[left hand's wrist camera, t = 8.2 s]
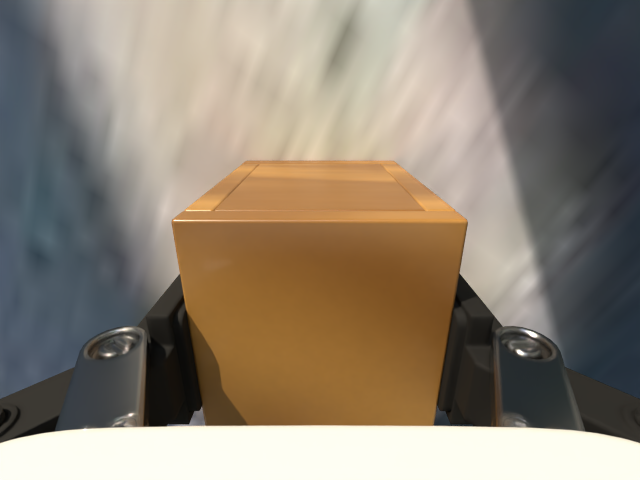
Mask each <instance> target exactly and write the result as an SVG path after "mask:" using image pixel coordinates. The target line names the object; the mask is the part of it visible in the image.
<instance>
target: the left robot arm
mask: <svg viewBox="0 0 640 480" xmlns="http://www.w3.org/2000/svg"><path fill="white" fill-rule="evenodd" d="M437 405H438V407H439V409H440V411H446V414H447V416H448V419H449V421H450V423H451V424H473V427H467V426H338V425H302V426H173V427H167V424H189V423H190V420H191V418H192V415H193V413H194V411H199V410H200V409H201V407H202V402H201V396H200V390H199V384H198V378H197V372H196V366H195V360H194V354H193V348H192V342H191V336H190V330H189V324H188V318H187V312H186V306H185V300H184V294H183V288H182V282H181V276H180V274H179V276H178V277H177V278H176V279H175V280H174V282H173V283H172V284H171V285H170V287H169V288H168V289H167V290H166V292H165V293H164V294H163V295H162V296H161V298H160V299H159V300H158V301H157V303H156V304H155V305H154V306H153V307H152V309H151V310H150V311H149V312H148V314H147V315H146V316H145V317H144V319H143V320H142V321H141V322H140V324H139V325H138V326H137V327H136V326H124V327H117V328H113V329H110V330H107V331H104V332H102V333H100V334H98V335H96V336H95V337H93V338H91V339H90V340H89V341H88V342H87V343H85V344H84V345H83V347H82V349H81V350H80V353H79V356H78V359H77V362H76V365H75V367H74V368H72V369H69V370H67V371H65V372H62V373H60V374H58V375H55V376H53V377H51V378H48V379H46V380H44V381H41V382H39V383H37V384H34V385H32V386H30V387H27V388H25V389H23V390H20V391H18V392H16V393H13V394H11V395H9V396H6V397H4V398H2V399H0V480H640V399H638V398H636V397H633V396H631V395H629V394H627V393H624V392H622V391H620V390H617V389H615V388H613V387H610V386H608V385H606V384H603V383H601V382H599V381H596V380H594V379H592V378H589V377H587V376H585V375H582V374H580V373H578V372H575V371H573V370H571V369H568V368H566V367H565V365H564V362H563V359H562V356H561V353H560V350H559V349H558V347H557V345H556V344H555V343H553V342H552V341H551V340H550V339H549V338H547V337H545V336H544V335H542V334H540V333H538V332H536V331H533V330H530V329H527V328H523V327H516V326H504V327H503V326H502V325H501V324H500V323H499V321H498V320H497V319H496V318H495V316H494V315H493V314H492V313H491V311H490V310H489V309H488V308H487V307H486V305H485V304H484V303H483V302H482V300H481V299H480V298H479V297H478V296H477V294H476V293H475V292H474V291H473V289H472V288H471V287H470V286H469V285H468V283H467V282H466V281H465V280H464V278H463V277H462V276H461V275H460V273H459V278H458V284H457V290H456V296H455V302H454V308H453V314H452V320H451V326H450V332H449V338H448V344H447V350H446V356H445V362H444V368H443V374H442V380H441V386H440V392H439V398H438V404H437Z"/></svg>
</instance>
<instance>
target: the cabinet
mask: <svg viewBox="0 0 640 480" xmlns="http://www.w3.org/2000/svg"><path fill="white" fill-rule="evenodd" d="M467 224H468V222H467V219H465V218H464V217H463V216H462V215H460V214H459V213H458V212H456V211H455V210H454V209H453V208H452V207H451V206H449V205H448V204H447V203H446V202H444V201H443V200H442V199H441V198H439V197H438V196H437V195H436V194H434V193H433V192H432V191H431V190H429V189H428V188H427V187H426V186H424V185H423V184H422V183H421V182H419V181H418V180H417V179H416V178H414V177H413V176H412V175H411V174H409V173H408V172H407V171H406V170H404V169H403V168H402V167H401V166H399V165H398V164H397V163H396V162H395V161H245V162H244V163H243V164H242V165H241V166H239V167H238V168H237V169H236V170H234V171H233V172H232V173H231V174H229V175H228V176H227V177H226V178H224V179H223V180H222V181H221V182H219V183H218V184H217V185H215V186H214V187H213V188H212V189H210V190H209V191H208V192H207V193H205V194H204V195H203V196H202V197H200V198H199V199H198V200H197V201H195V202H194V203H193V204H192V205H190V206H189V207H188V208H186V209H185V211H183V212H181V213H180V214H179V215H178V216H176V217H175V218H174V219H173V220H172V228H173V234H174V240H175V246H176V252H177V258H178V264H179V270H180V276H181V282H182V288H183V294H184V300H185V306H186V312H187V318H188V324H189V330H190V336H191V342H192V348H193V354H194V360H195V366H196V372H197V378H198V384H199V390H200V396H201V402H202V408H203V414H204V420H205V426H302V425H338V426H434V421H435V415H436V409H437V404H438V398H439V392H440V386H441V380H442V374H443V368H444V362H445V356H446V350H447V344H448V338H449V332H450V326H451V320H452V314H453V308H454V302H455V296H456V290H457V284H458V278H459V272H460V266H461V260H462V254H463V248H464V242H465V236H466V230H467Z"/></svg>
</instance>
